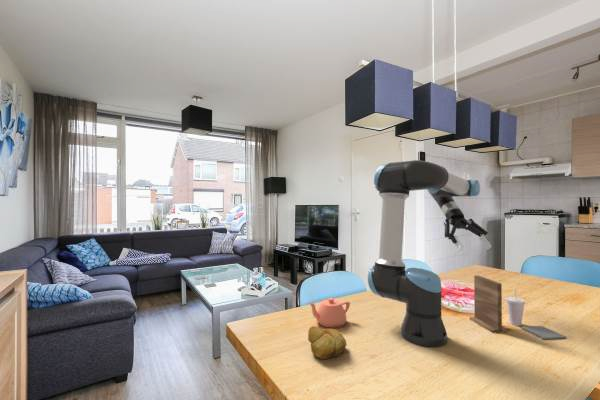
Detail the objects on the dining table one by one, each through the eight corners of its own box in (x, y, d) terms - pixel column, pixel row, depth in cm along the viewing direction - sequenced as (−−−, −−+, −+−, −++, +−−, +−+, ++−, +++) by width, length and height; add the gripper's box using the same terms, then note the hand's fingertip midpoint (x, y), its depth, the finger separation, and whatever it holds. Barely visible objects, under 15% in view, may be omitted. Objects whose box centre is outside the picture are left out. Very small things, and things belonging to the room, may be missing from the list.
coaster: (543, 339, 100) (543, 338, 100) (520, 328, 109) (520, 326, 109) (566, 338, 101) (566, 336, 101) (542, 327, 110) (542, 325, 110)
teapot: (356, 326, 111) (356, 301, 111) (312, 331, 106) (312, 306, 106) (343, 314, 123) (343, 292, 123) (303, 319, 118) (303, 296, 118)
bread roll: (340, 342, 98) (340, 319, 98) (354, 356, 89) (354, 331, 89) (305, 349, 94) (305, 324, 94) (317, 365, 84) (317, 337, 85)
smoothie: (506, 325, 111) (506, 289, 112) (504, 319, 117) (503, 285, 117) (527, 328, 108) (527, 291, 109) (523, 322, 114) (523, 287, 114)
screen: (492, 332, 105) (492, 283, 105) (469, 319, 117) (469, 275, 117) (507, 331, 106) (506, 283, 106) (483, 318, 118) (482, 275, 118)
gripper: (472, 217, 145) (496, 252, 130) (426, 218, 142) (445, 254, 127) (479, 207, 140) (505, 242, 125) (432, 208, 137) (452, 244, 122)
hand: (475, 248), depth 126 cm, fingers open, 13 cm apart
